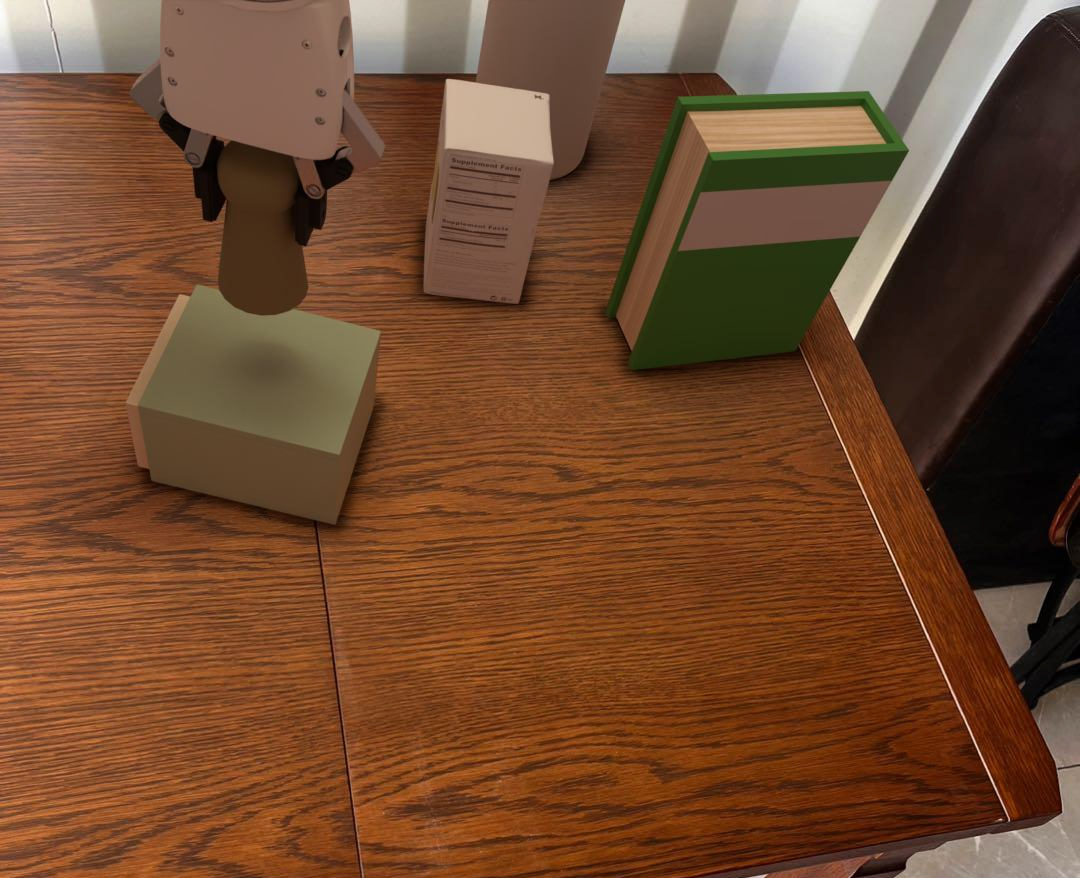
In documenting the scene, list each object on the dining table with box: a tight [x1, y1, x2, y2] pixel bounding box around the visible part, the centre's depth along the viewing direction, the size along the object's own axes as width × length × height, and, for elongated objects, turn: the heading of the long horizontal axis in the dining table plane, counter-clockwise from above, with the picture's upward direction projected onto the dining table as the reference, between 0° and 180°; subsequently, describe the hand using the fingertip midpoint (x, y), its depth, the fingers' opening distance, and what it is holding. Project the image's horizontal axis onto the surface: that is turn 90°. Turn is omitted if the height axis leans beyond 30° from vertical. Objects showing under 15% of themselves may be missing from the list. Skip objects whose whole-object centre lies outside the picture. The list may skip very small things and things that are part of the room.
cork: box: [217, 140, 309, 316], centre depth 70 cm, size 6×6×11 cm
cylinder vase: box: [475, 0, 626, 181], centre depth 105 cm, size 12×12×25 cm
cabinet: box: [138, 283, 382, 525], centre depth 85 cm, size 15×13×10 cm
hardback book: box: [605, 90, 910, 371], centre depth 95 cm, size 18×7×24 cm, turn 108°
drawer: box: [125, 293, 191, 470], centre depth 85 cm, size 15×11×8 cm
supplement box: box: [423, 78, 554, 305], centre depth 97 cm, size 10×9×17 cm
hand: (261, 217), depth 70 cm, fingers closed on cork, 5 cm apart
